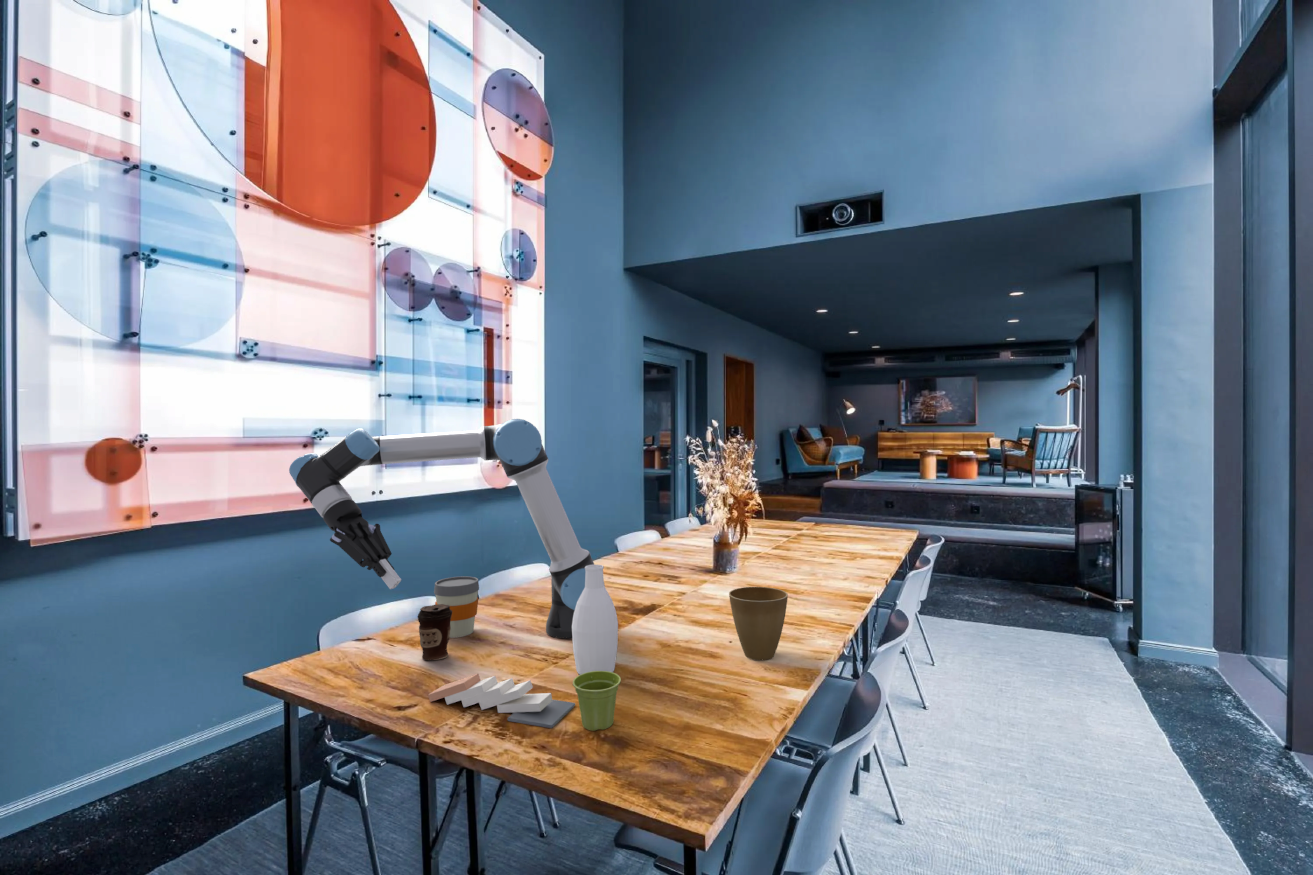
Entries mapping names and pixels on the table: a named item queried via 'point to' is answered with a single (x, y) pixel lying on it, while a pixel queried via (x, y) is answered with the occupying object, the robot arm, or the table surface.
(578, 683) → the plant pot
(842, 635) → the table surface
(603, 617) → the bottle
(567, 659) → the table surface
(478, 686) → the domino
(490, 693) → the domino
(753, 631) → the plant pot
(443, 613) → the coffee cup
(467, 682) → the domino
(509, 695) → the domino
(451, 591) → the reusable coffee cup
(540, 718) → the slate coaster
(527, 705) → the domino
